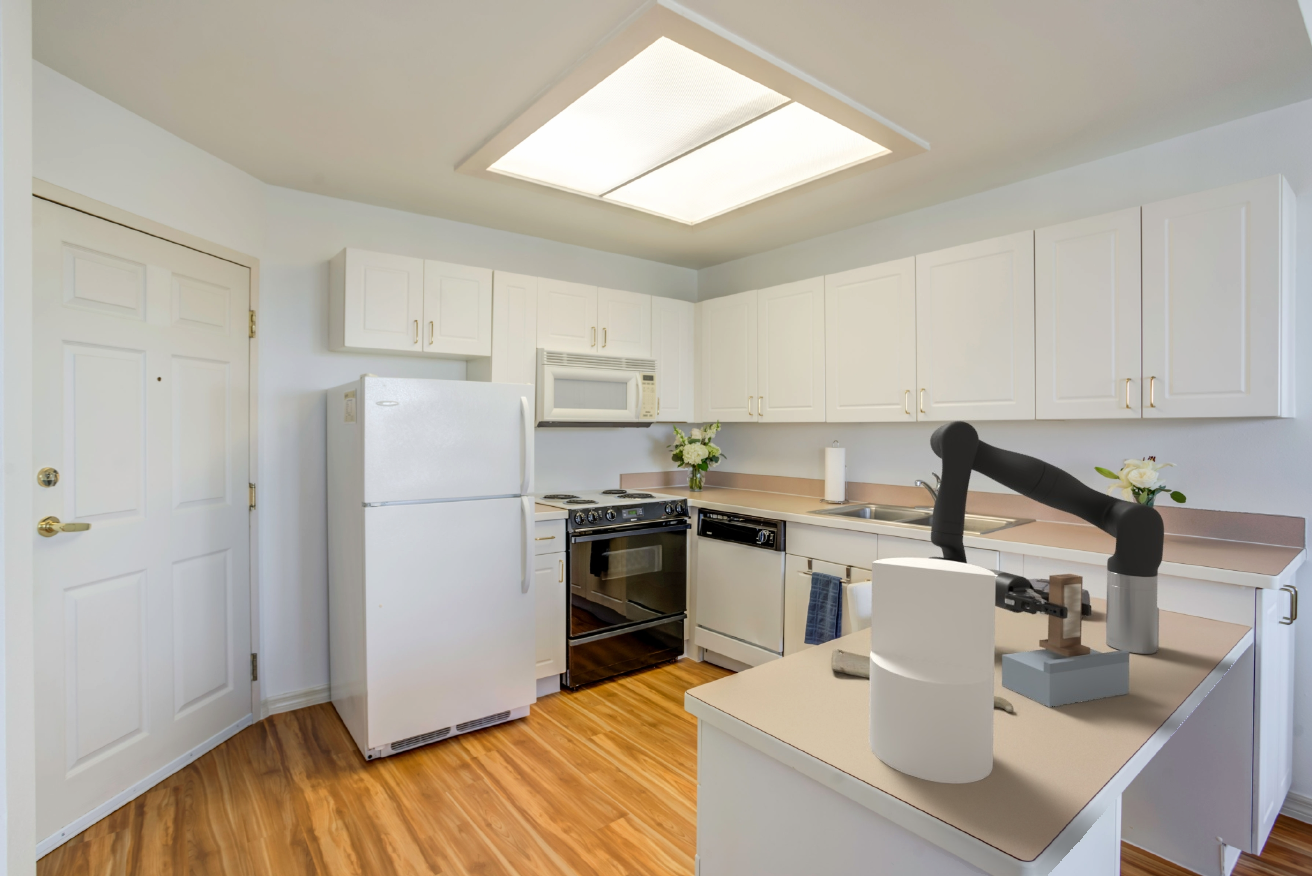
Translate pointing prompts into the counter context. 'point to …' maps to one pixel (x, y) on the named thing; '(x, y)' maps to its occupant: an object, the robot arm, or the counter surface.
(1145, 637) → the robot arm
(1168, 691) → the counter surface
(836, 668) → the decorative wall piece
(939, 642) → the cylinder
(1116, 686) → the display riser
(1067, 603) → the brown wooden block
